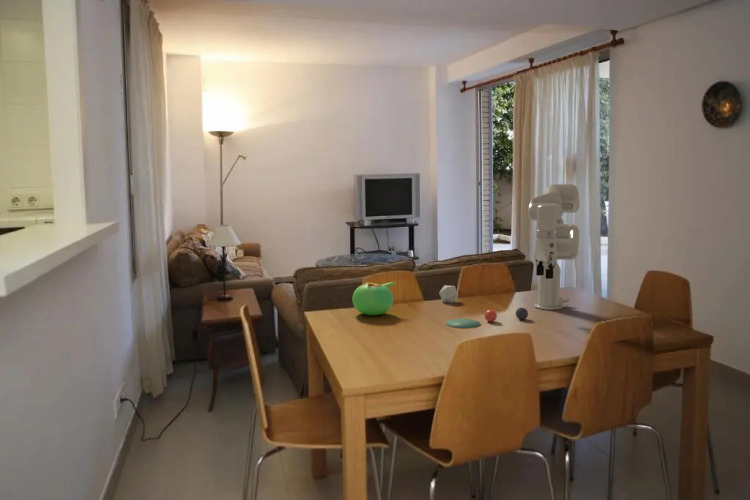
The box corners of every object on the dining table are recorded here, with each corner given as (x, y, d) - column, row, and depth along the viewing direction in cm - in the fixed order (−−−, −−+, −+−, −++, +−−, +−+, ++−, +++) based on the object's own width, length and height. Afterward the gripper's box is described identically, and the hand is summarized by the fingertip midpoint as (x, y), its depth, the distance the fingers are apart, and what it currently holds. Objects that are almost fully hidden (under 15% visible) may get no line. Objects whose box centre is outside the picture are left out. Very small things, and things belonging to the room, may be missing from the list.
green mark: (472, 318, 240) (472, 317, 240) (486, 326, 227) (486, 326, 227) (441, 320, 237) (441, 320, 237) (453, 329, 224) (453, 328, 224)
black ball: (524, 317, 241) (524, 306, 240) (530, 320, 236) (530, 308, 235) (513, 318, 240) (513, 306, 239) (519, 321, 235) (519, 309, 234)
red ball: (493, 319, 238) (493, 308, 237) (498, 322, 233) (499, 310, 232) (482, 320, 237) (482, 308, 236) (487, 323, 232) (487, 311, 231)
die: (460, 302, 273) (452, 284, 277) (461, 297, 266) (452, 279, 269) (444, 308, 273) (436, 291, 277) (445, 303, 265) (436, 285, 269)
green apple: (346, 316, 246) (345, 283, 244) (364, 308, 261) (364, 276, 259) (383, 321, 238) (382, 286, 236) (400, 312, 253) (400, 279, 251)
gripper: (565, 236, 228) (563, 280, 230) (543, 232, 244) (542, 273, 247) (548, 237, 226) (547, 281, 228) (527, 232, 243) (526, 273, 245)
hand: (544, 276), depth 238 cm, fingers open, 6 cm apart
